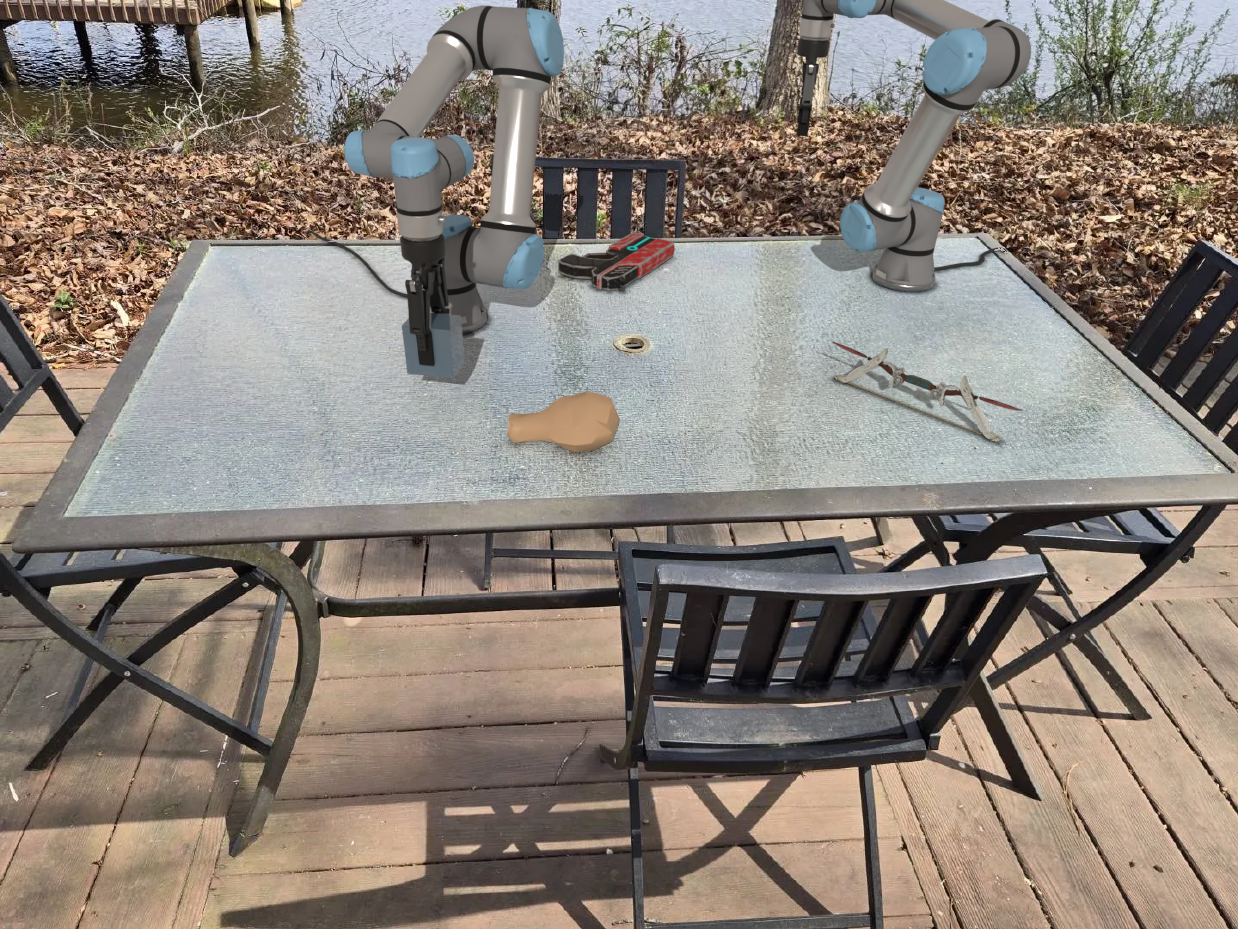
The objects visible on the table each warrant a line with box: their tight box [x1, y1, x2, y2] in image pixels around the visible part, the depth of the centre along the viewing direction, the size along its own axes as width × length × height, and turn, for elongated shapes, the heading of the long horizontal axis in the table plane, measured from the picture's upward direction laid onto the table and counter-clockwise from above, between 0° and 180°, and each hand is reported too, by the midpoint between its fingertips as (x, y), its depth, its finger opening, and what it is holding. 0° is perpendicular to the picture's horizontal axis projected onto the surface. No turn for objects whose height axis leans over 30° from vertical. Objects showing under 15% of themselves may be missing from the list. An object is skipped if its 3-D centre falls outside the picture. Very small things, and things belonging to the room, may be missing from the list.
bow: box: [831, 341, 1023, 443], centre depth 166 cm, size 39×2×10 cm, turn 47°
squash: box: [506, 390, 621, 453], centre depth 154 cm, size 11×20×9 cm, turn 90°
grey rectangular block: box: [401, 313, 466, 379], centre depth 162 cm, size 7×9×10 cm
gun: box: [557, 232, 676, 292], centre depth 225 cm, size 4×31×19 cm
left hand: (433, 355), depth 163 cm, fingers closed on grey rectangular block, 7 cm apart
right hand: (802, 129), depth 224 cm, fingers open, 13 cm apart
